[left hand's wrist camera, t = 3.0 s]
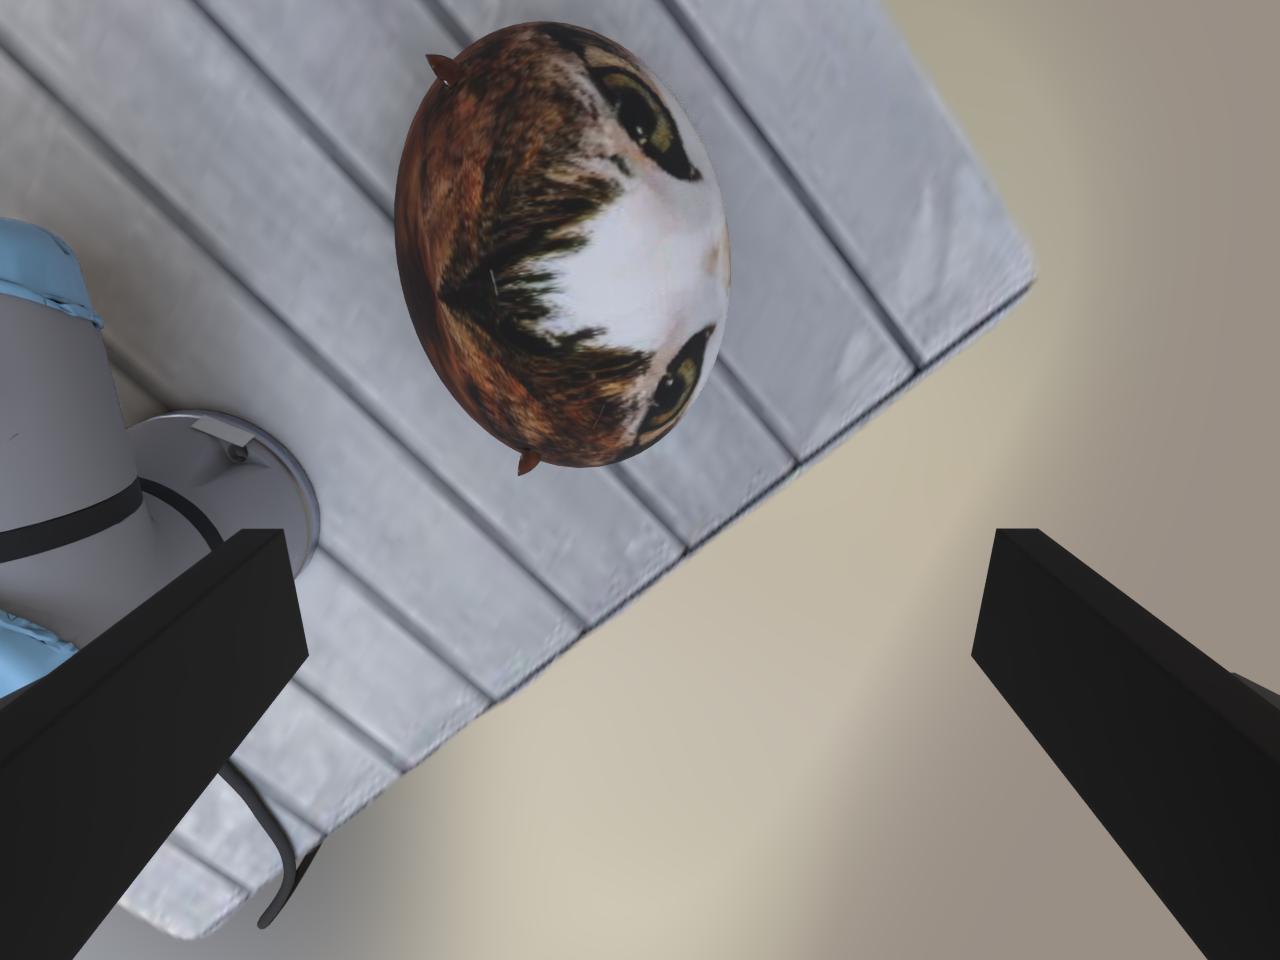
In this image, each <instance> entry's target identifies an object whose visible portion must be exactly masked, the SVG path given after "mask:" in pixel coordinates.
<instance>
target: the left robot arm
mask: <svg viewBox="0 0 1280 960" xmlns="http://www.w3.org/2000/svg"><path fill="white" fill-rule="evenodd" d="M101 328H104V326H103V321H102V319H101V317H100V316H99V315H98V314H96V313H95V312H94V309H93V306H92V303H91V300H90V297H89V294H88V291H87V288H86V285H85V281H84V278H83V275H82V272H81V269H80V266H79V263H78V260H77V258H76V256H75V254H74V253H73V251H72V250H71V249H70V247H69V246H68V245H67V244H66V243H65V242H64V241H63V240H61V239H60V238H59V237H57V236H56V235H54V234H53V233H51V232H50V231H48V230H46V229H44V228H41V227H39V226H36V225H33V224H30V223H26V222H22V221H18V220H13V219H7V218H2V217H0V960H73V958H74V957H75V956H76V954H77V953H78V952H79V951H80V949H81V948H82V947H83V945H84V944H85V943H86V942H87V940H88V939H89V938H90V936H91V935H92V934H93V932H94V931H95V930H96V929H97V927H98V926H99V925H100V924H101V922H102V921H103V920H104V918H105V917H106V916H107V915H108V913H109V912H110V911H111V909H112V908H113V907H114V906H115V904H116V903H117V902H118V900H119V899H120V898H121V897H122V895H123V894H124V893H125V891H126V890H127V889H128V888H129V886H130V885H131V884H132V882H133V881H134V880H135V879H136V877H137V876H138V875H139V873H140V872H141V871H142V870H143V868H144V867H145V866H146V864H147V863H148V862H149V861H150V859H151V858H152V857H153V855H154V854H155V853H156V852H157V850H158V849H159V848H160V846H161V845H162V844H163V843H164V841H165V840H166V839H167V837H168V836H169V835H170V834H171V832H172V831H173V830H174V828H175V827H176V826H177V825H178V823H179V822H180V821H181V819H182V818H183V817H184V816H185V814H186V813H187V812H188V810H189V809H190V808H191V807H192V805H193V804H194V803H195V801H196V800H197V799H198V798H199V796H200V795H201V794H202V792H203V791H204V790H205V789H206V787H207V786H208V785H209V783H210V782H211V781H212V780H213V778H214V777H215V776H216V774H217V773H218V774H219V775H220V776H221V777H222V778H223V779H224V780H225V781H226V782H227V783H228V784H229V785H230V786H231V787H232V788H233V789H234V790H235V791H236V792H237V793H238V794H239V795H240V796H241V798H242V799H243V800H244V801H245V803H246V804H247V805H248V807H249V808H250V810H251V811H252V813H253V814H254V816H255V817H256V819H257V820H258V821H259V823H260V824H261V825H262V827H263V828H264V830H265V831H266V832H267V834H268V835H269V836H270V838H271V839H272V841H273V842H274V844H275V845H276V847H277V849H278V851H279V853H280V855H281V858H282V862H283V866H284V878H283V882H282V885H281V888H280V889H279V892H278V893H277V895H276V897H275V898H274V900H273V901H272V903H271V904H270V905H269V907H268V908H267V909H266V911H265V912H264V913H263V915H262V916H261V917H260V919H259V921H258V923H257V926H258V928H260V929H265V928H266V927H268V926H269V925H270V924H271V923H272V921H273V920H274V919H275V918H276V917H277V915H278V914H279V913H280V911H281V910H282V908H283V907H284V906H285V904H286V903H287V901H288V900H289V898H290V897H291V896H292V894H293V892H294V891H295V889H296V888H297V886H298V884H299V883H300V881H301V879H302V878H303V876H304V874H305V873H306V871H307V869H308V868H309V866H310V864H311V862H312V861H313V859H314V857H315V855H316V853H317V852H318V850H319V848H320V847H321V845H322V843H323V841H324V840H322V841H321V842H320V843H319V844H318V845H316V846H315V847H313V848H312V849H310V850H309V851H308V852H307V853H306V855H305V857H304V858H303V860H302V862H301V863H300V865H299V867H298V868H297V870H296V863H295V858H294V854H293V851H292V849H291V846H290V844H289V842H288V840H287V839H286V837H285V835H284V834H283V832H282V831H281V829H280V828H279V826H278V825H277V823H276V822H275V821H274V819H273V818H272V817H271V815H270V814H269V812H268V811H267V810H266V808H265V807H264V805H263V804H262V802H261V800H260V799H259V798H258V796H257V795H256V793H255V792H254V791H253V789H252V788H251V787H250V786H249V785H248V784H247V783H246V781H245V780H244V779H243V778H242V777H241V776H240V775H239V774H238V773H237V772H236V771H235V770H234V769H233V768H232V767H231V766H230V765H229V764H228V763H227V760H228V759H229V758H230V756H231V755H232V754H233V753H234V751H235V750H236V749H237V747H238V746H239V745H240V744H241V742H242V741H243V740H244V738H245V737H246V736H247V735H248V733H249V732H250V731H251V729H252V728H253V727H254V726H255V724H256V723H257V722H258V720H259V719H260V718H261V717H262V715H263V714H264V713H265V711H266V710H267V709H268V708H269V706H270V705H271V704H272V702H273V701H274V700H275V699H276V697H277V696H278V695H279V693H280V692H281V691H282V690H283V688H284V687H285V686H286V684H287V683H288V682H289V681H290V679H291V678H292V677H293V675H294V674H295V673H296V672H297V670H298V669H299V668H300V666H301V665H302V664H303V663H304V661H305V660H306V659H307V657H308V656H309V653H308V648H307V643H306V638H305V633H304V628H303V623H302V618H301V613H300V608H299V603H298V598H297V593H296V588H295V583H294V579H295V578H296V577H297V576H298V575H299V574H300V573H301V572H302V571H303V570H304V569H305V567H306V566H307V565H308V563H309V561H310V560H311V558H312V556H313V554H314V551H315V549H316V546H317V542H318V537H319V529H320V517H319V509H318V504H317V500H316V497H315V494H314V491H313V488H312V486H311V484H310V482H309V480H308V478H307V476H306V475H305V473H304V471H303V469H302V468H301V467H300V465H299V464H298V463H297V461H296V460H295V459H294V458H293V456H292V455H291V454H290V453H289V452H288V451H287V450H286V449H285V448H284V447H283V446H282V445H281V444H280V443H279V442H277V441H276V440H275V439H274V438H272V437H271V436H270V435H268V434H267V433H265V432H264V431H262V430H261V429H259V428H257V427H256V426H254V425H252V424H250V423H248V422H246V421H244V420H241V419H239V418H236V417H233V416H230V415H227V414H224V413H219V412H214V411H208V410H195V409H188V410H177V411H172V412H167V413H164V414H160V415H158V416H155V417H152V418H150V419H147V420H145V421H142V422H140V423H138V424H135V425H133V426H131V427H129V428H128V429H126V427H125V423H124V419H123V415H122V411H121V408H120V404H119V400H118V396H117V392H116V389H115V385H114V381H113V377H112V373H111V369H110V366H109V362H108V358H107V354H106V350H105V347H104V343H103V339H102V335H101V331H100V329H101ZM971 656H972V657H973V659H974V660H975V661H976V663H977V664H978V665H979V666H980V668H981V669H982V670H983V672H984V673H985V674H986V675H987V677H988V678H989V679H990V681H991V682H992V683H993V684H994V686H995V687H996V688H997V690H998V691H999V692H1000V693H1001V695H1002V696H1003V697H1004V699H1005V700H1006V701H1007V702H1008V704H1009V705H1010V706H1011V708H1012V709H1013V710H1014V711H1015V713H1016V714H1017V715H1018V717H1019V718H1020V719H1021V720H1022V722H1023V723H1024V724H1025V726H1026V727H1027V728H1028V729H1029V731H1030V732H1031V733H1032V735H1033V736H1034V737H1035V738H1036V740H1037V741H1038V742H1039V744H1040V745H1041V746H1042V747H1043V749H1044V750H1045V751H1046V753H1047V754H1048V755H1049V756H1050V758H1051V759H1052V760H1053V762H1054V763H1055V764H1056V765H1057V767H1058V768H1059V769H1060V771H1061V772H1062V773H1063V774H1064V776H1065V777H1066V778H1067V780H1068V781H1069V782H1070V783H1071V785H1072V786H1073V787H1074V789H1075V790H1076V791H1077V792H1078V794H1079V795H1080V796H1081V798H1082V799H1083V800H1084V801H1085V803H1086V804H1087V805H1088V807H1089V808H1090V809H1091V810H1092V812H1093V813H1094V814H1095V816H1096V817H1097V818H1098V819H1099V821H1100V822H1101V823H1102V825H1103V826H1104V827H1105V828H1106V830H1107V831H1108V832H1109V834H1110V835H1111V836H1112V837H1113V839H1114V840H1115V841H1116V843H1117V844H1118V845H1119V846H1120V848H1121V849H1122V850H1123V852H1124V853H1125V854H1126V855H1127V857H1128V858H1129V859H1130V861H1131V862H1132V863H1133V864H1134V866H1135V867H1136V868H1137V870H1138V871H1139V872H1140V873H1141V875H1142V876H1143V877H1144V879H1145V880H1146V881H1147V882H1148V884H1149V885H1150V886H1151V888H1152V889H1153V890H1154V891H1155V893H1156V894H1157V895H1158V897H1159V898H1160V899H1161V900H1162V902H1163V903H1164V904H1165V906H1166V907H1167V908H1168V909H1169V911H1170V912H1171V913H1172V915H1173V916H1174V917H1175V918H1176V920H1177V921H1178V922H1179V924H1180V925H1181V926H1182V927H1183V929H1184V930H1185V931H1186V932H1187V934H1188V935H1189V936H1190V938H1191V939H1192V940H1193V941H1194V943H1195V944H1196V945H1197V947H1198V948H1199V949H1200V951H1201V952H1202V953H1203V954H1204V956H1205V957H1206V958H1207V960H1280V695H1278V694H1276V693H1274V692H1272V691H1270V690H1268V689H1266V688H1264V687H1262V686H1260V685H1258V684H1256V683H1254V682H1252V681H1250V680H1248V679H1246V678H1244V677H1242V676H1240V675H1238V674H1236V673H1230V672H1229V671H1227V670H1226V669H1225V668H1223V667H1222V666H1221V665H1219V664H1218V663H1216V662H1215V661H1214V660H1213V659H1211V658H1210V657H1209V656H1207V655H1206V654H1205V653H1203V652H1202V651H1201V650H1199V649H1198V648H1197V647H1195V646H1194V645H1193V644H1191V643H1190V642H1189V641H1187V640H1186V639H1185V638H1183V637H1182V636H1181V635H1179V634H1178V633H1177V632H1175V631H1174V630H1173V629H1171V628H1170V627H1169V626H1167V625H1166V624H1165V623H1163V622H1162V621H1161V620H1159V619H1158V618H1156V617H1155V616H1154V615H1152V614H1151V613H1150V612H1148V611H1147V610H1146V609H1145V608H1143V607H1142V606H1141V605H1139V604H1138V603H1137V602H1135V601H1134V600H1133V599H1131V598H1130V597H1129V596H1127V595H1126V594H1125V593H1123V592H1122V591H1121V590H1119V589H1118V588H1116V587H1115V586H1114V585H1113V584H1111V583H1110V582H1109V581H1107V580H1106V579H1105V578H1103V577H1102V576H1101V575H1099V574H1098V573H1097V572H1095V571H1094V570H1093V569H1091V568H1090V567H1089V566H1087V565H1086V564H1085V563H1083V562H1082V561H1081V560H1079V559H1078V558H1076V557H1075V556H1074V555H1073V554H1071V553H1070V552H1069V551H1067V550H1066V549H1064V548H1063V547H1062V546H1061V545H1059V544H1058V543H1057V542H1055V541H1054V540H1052V539H1051V538H1050V537H1049V536H1047V535H1046V534H1045V533H1043V532H1042V531H1041V530H1039V529H996V533H995V538H994V543H993V548H992V553H991V558H990V563H989V568H988V573H987V578H986V583H985V588H984V594H983V598H982V603H981V608H980V613H979V618H978V623H977V628H976V633H975V638H974V643H973V648H972V653H971Z"/></svg>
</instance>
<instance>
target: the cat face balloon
mask: <svg viewBox="0 0 1280 960" xmlns="http://www.w3.org/2000/svg"><path fill="white" fill-rule="evenodd" d="M425 56H426V57H427V60H428V62H429V64H430V66H431V68H432V69H433V71H434V73H435V74H436V76H437V77H438V78H437V79H436V80H435V82H434V83H433V85H432V86H431V88H430V89H429V91H428V92H427V94H426V95H425V97H424V99H423V101H422V103H421V105H420V107H419V109H418V111H417V113H416V115H415V117H414V119H413V122H412V124H411V127H410V130H409V132H408V135H407V139H406V142H405V146H404V149H403V153H402V157H401V161H400V165H399V170H398V177H397V184H396V194H395V203H394V227H395V246H396V256H397V264H398V269H399V275H400V281H401V285H402V289H403V293H404V297H405V301H406V304H407V307H408V311H409V314H410V317H411V320H412V322H413V325H414V328H415V330H416V333H417V336H418V338H419V340H420V342H421V344H422V347H423V349H424V351H425V353H426V355H427V356H428V358H429V360H430V362H431V364H432V366H433V367H434V369H435V371H436V372H437V374H438V376H439V377H440V379H441V381H442V382H443V384H444V385H445V386H446V388H447V389H448V390H449V392H450V393H451V394H452V396H453V397H454V398H455V400H456V401H457V402H458V403H459V404H460V405H461V406H462V408H463V409H464V410H465V411H466V412H467V413H468V414H469V416H470V417H472V418H473V419H474V420H475V421H476V422H477V423H478V424H479V425H480V426H482V427H483V428H484V429H485V430H486V431H487V432H488V433H490V434H491V435H492V436H494V437H495V438H496V439H498V440H499V441H501V442H502V443H504V444H505V445H507V446H509V447H510V448H512V449H514V450H516V451H517V452H520V453H522V454H521V457H520V461H519V467H518V476H520V475H523V474H525V473H527V472H529V471H531V470H532V469H533V468H535V467H536V466H537V464H538V463H539V462H540V461H542V462H546V463H550V464H554V465H557V466H566V467H576V468H584V467H600V466H604V465H608V464H613V463H617V462H621V461H623V460H625V459H628V458H630V457H632V456H635V455H637V454H639V453H641V452H643V451H644V450H646V449H648V448H649V447H651V446H652V445H654V444H655V443H657V442H658V441H659V440H661V439H662V438H663V437H664V436H665V435H666V434H668V433H669V432H670V431H671V430H672V429H673V428H674V427H675V426H676V425H677V424H678V423H679V421H680V420H681V419H682V418H683V417H684V416H685V414H686V413H687V412H688V410H689V409H690V408H691V406H692V405H693V403H694V402H695V400H696V399H697V398H698V396H699V394H700V392H701V390H702V389H703V387H704V385H705V383H706V381H707V379H708V377H709V375H710V372H711V370H712V368H713V365H714V363H715V360H716V357H717V354H718V351H719V348H720V345H721V341H722V337H723V333H724V329H725V325H726V320H727V313H728V307H729V297H730V284H731V260H730V243H729V234H728V226H727V220H726V215H725V209H724V205H723V200H722V196H721V192H720V188H719V185H718V182H717V178H716V175H715V172H714V169H713V166H712V164H711V161H710V159H709V156H708V154H707V151H706V149H705V147H704V145H703V143H702V141H701V138H700V136H699V134H698V132H697V131H696V129H695V127H694V126H693V124H692V122H691V120H690V119H689V117H688V115H687V114H686V112H685V110H684V109H683V107H682V106H681V104H680V103H679V101H678V100H677V99H676V97H675V96H674V94H673V93H672V92H671V91H670V90H669V89H668V87H667V86H666V85H665V84H664V83H663V82H662V81H661V79H660V78H659V77H658V76H657V75H656V74H655V73H654V72H653V71H652V70H651V69H650V68H649V67H648V66H647V65H646V64H645V63H644V62H642V61H641V60H640V59H639V58H637V57H636V56H635V55H633V54H632V53H631V52H629V51H628V50H627V49H625V48H624V47H622V46H621V45H620V44H618V43H616V42H614V41H612V40H610V39H608V38H606V37H604V36H602V35H600V34H598V33H596V32H594V31H591V30H588V29H585V28H582V27H578V26H574V25H570V24H566V23H558V22H529V23H522V24H517V25H513V26H509V27H506V28H503V29H500V30H498V31H495V32H493V33H491V34H489V35H487V36H485V37H483V38H481V39H479V40H478V41H476V42H475V43H473V44H472V45H470V46H469V47H467V48H466V49H465V50H464V51H463V52H461V53H460V54H459V55H458V56H457V57H456V58H455V59H454V60H452V59H450V58H448V57H445V56H442V55H430V54H429V55H425Z"/></svg>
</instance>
